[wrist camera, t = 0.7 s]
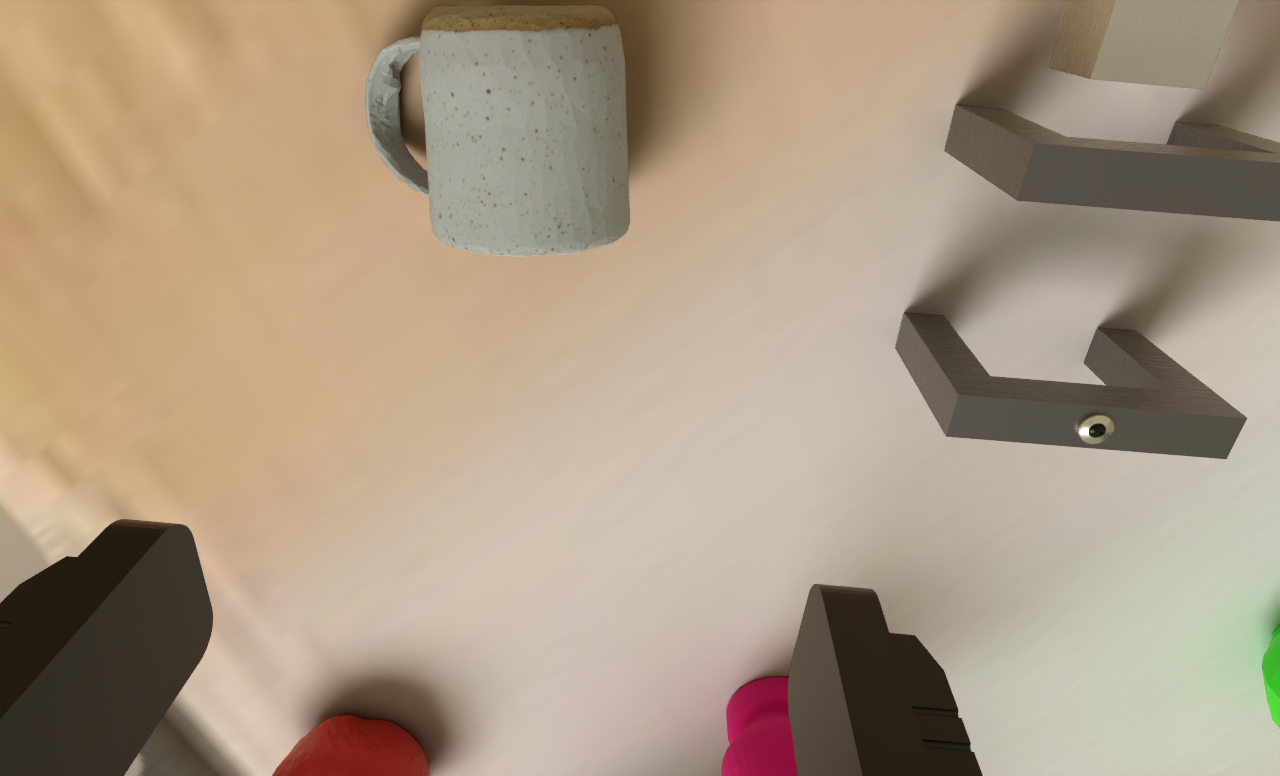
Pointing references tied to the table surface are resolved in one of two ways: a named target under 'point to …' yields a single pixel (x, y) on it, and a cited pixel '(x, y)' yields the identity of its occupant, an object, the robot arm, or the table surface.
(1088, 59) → the orange banded bar
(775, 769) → the pepper mill
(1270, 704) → the plastic bottle
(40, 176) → the table surface
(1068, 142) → the collar
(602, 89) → the ceramic mug
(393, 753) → the pomegranate
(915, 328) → the collar
